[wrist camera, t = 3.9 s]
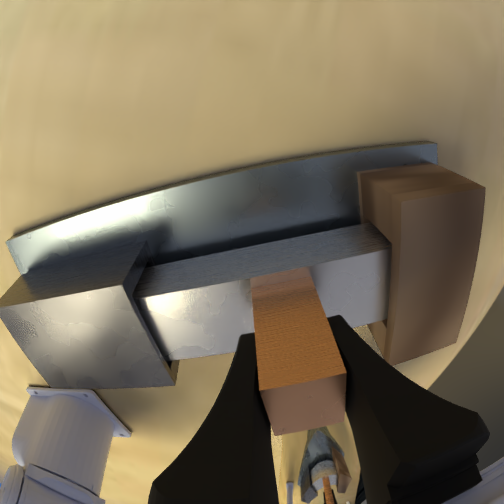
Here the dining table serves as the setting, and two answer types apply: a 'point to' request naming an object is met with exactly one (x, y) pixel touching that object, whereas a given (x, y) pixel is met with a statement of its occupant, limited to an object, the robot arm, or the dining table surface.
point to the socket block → (423, 253)
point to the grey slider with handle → (275, 313)
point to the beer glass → (321, 467)
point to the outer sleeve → (165, 257)
